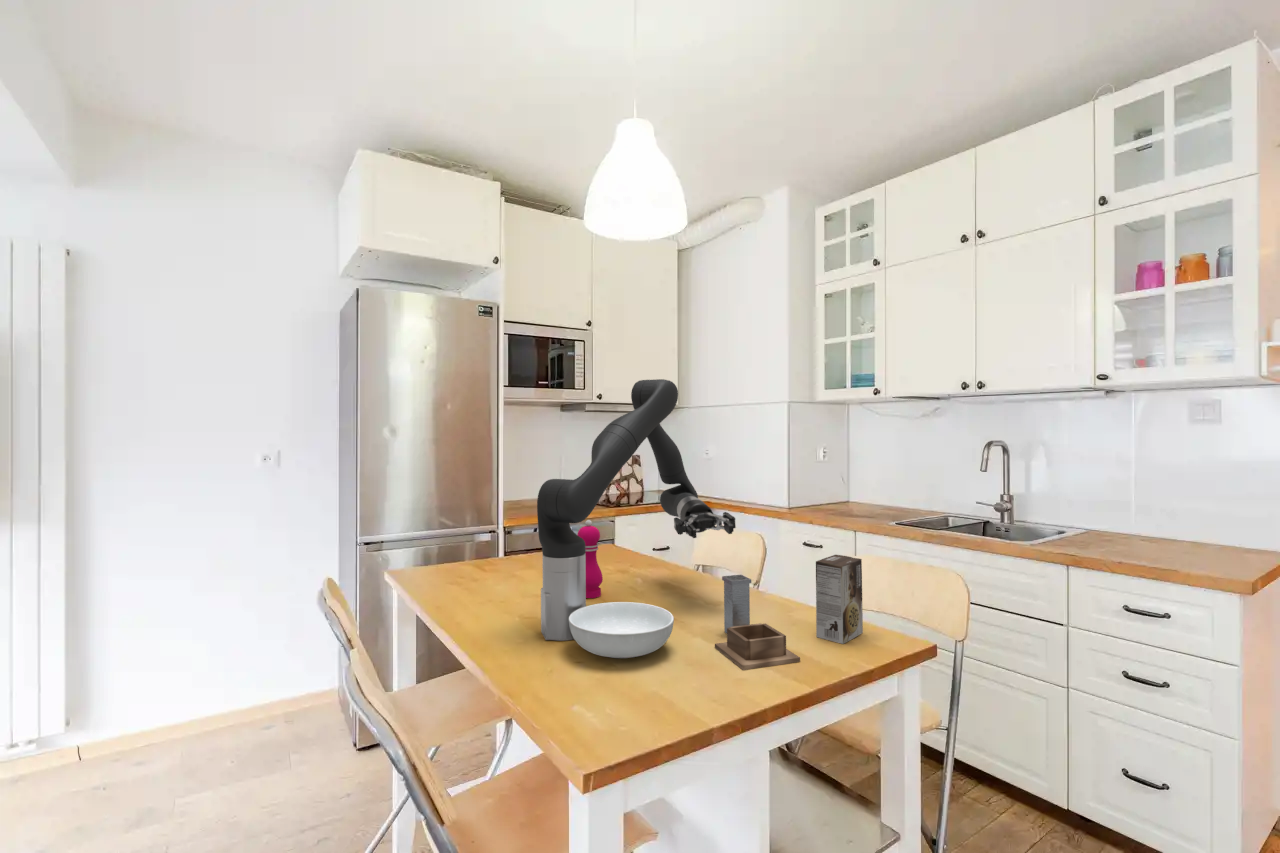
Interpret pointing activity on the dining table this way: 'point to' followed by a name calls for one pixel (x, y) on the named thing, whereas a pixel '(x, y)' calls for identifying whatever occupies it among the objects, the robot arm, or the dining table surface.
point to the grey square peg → (736, 601)
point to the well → (756, 647)
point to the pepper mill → (591, 559)
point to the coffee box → (839, 598)
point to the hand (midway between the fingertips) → (712, 531)
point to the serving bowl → (621, 628)
